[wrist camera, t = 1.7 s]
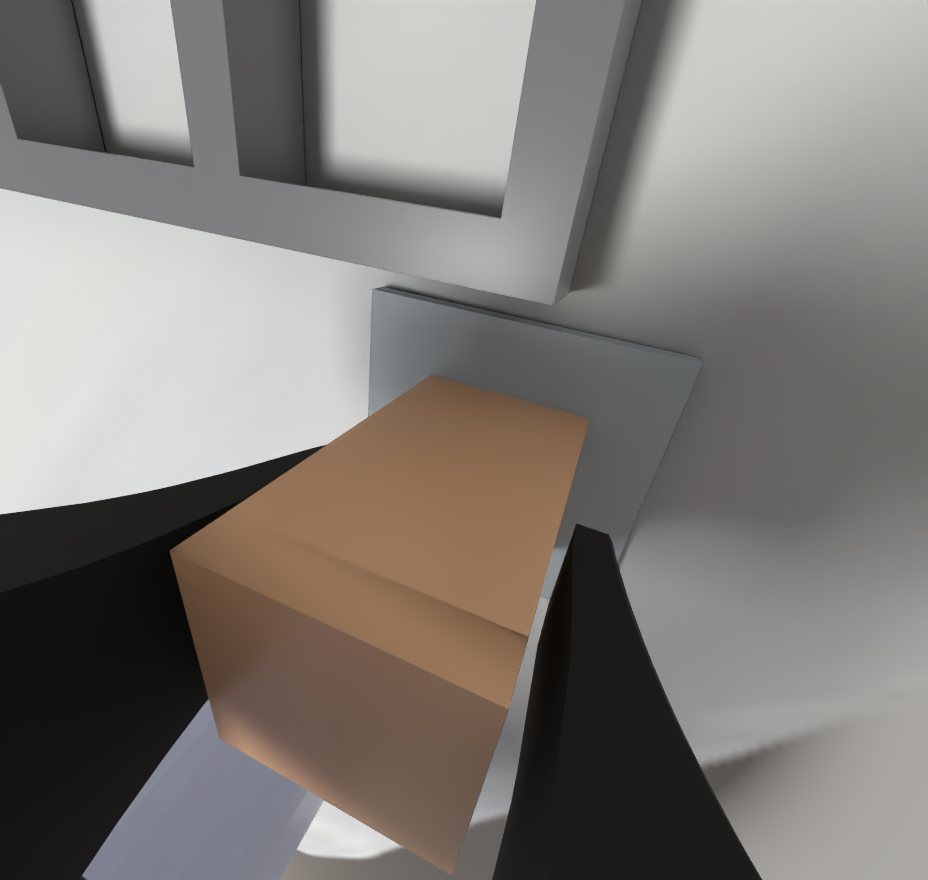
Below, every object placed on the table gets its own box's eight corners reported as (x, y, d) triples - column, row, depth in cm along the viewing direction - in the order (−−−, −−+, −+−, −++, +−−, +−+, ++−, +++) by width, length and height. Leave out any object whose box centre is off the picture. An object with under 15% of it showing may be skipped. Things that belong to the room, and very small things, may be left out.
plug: (548, 548, 12) (452, 876, 6) (416, 501, 13) (219, 737, 7) (589, 418, 10) (507, 709, 4) (430, 375, 11) (168, 551, 5)
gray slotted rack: (568, 292, 9) (553, 305, 7) (-52, 166, 15) (-143, 157, 13) (734, -368, 5) (776, -646, 4) (-195, -208, 11) (-351, -290, 9)
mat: (595, 603, 12) (593, 616, 12) (372, 518, 14) (364, 526, 14) (699, 358, 9) (703, 364, 8) (382, 287, 11) (372, 289, 10)
